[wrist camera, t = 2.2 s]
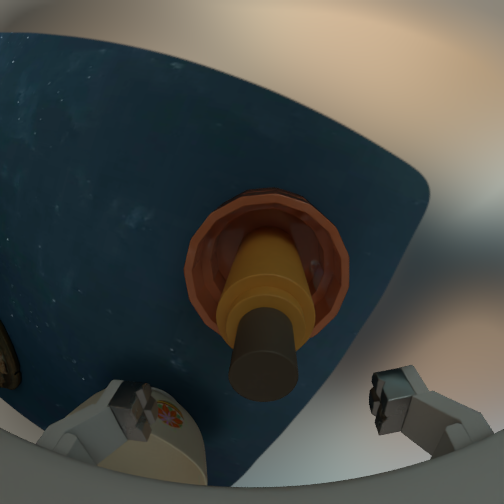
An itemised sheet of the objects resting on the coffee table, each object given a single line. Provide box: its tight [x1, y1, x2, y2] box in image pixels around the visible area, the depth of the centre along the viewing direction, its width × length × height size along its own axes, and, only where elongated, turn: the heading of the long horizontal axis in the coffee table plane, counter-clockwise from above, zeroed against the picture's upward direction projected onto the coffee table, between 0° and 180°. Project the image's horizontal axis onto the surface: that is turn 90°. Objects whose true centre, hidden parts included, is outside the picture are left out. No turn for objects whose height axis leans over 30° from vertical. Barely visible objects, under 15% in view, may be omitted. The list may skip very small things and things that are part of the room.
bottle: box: [216, 226, 316, 402], centre depth 18 cm, size 5×5×16 cm
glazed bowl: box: [184, 187, 349, 339], centre depth 23 cm, size 11×11×6 cm
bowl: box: [65, 387, 207, 486], centre depth 27 cm, size 16×16×10 cm
